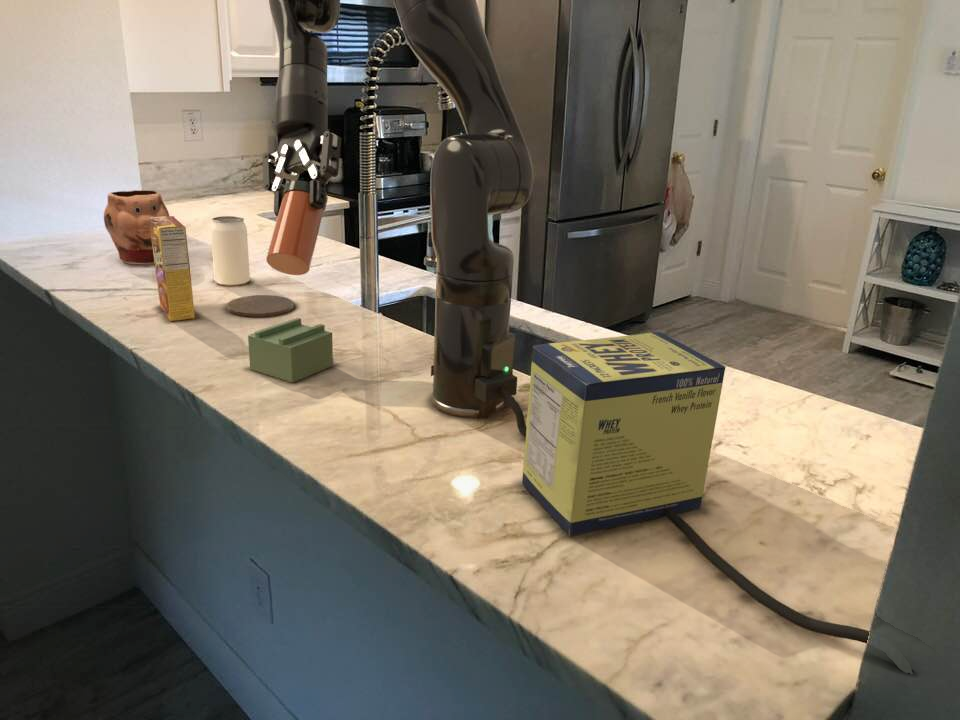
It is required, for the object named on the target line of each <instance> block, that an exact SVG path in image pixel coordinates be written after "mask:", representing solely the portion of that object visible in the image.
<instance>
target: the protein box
mask: <svg viewBox="0 0 960 720" xmlns="http://www.w3.org/2000/svg"><path fill="white" fill-rule="evenodd" d="M531 356H532V357H531V369H530V379H529V393H528V401H527V402H528V403H527V416H526V427H527V429H526V438H525V441H524V443H525V444H524V455H523V467H522V479H521V484H522V486H523V487H524V488H525V489H526V490H527V491H528V492H529V493H530V495H531V496H532V497H533V498H534V499H535V500H536V501H537V502H538V504H539V505H540V506H541V507H542V508H543V509H544V510H545V511H546V512H547V514H548V515H549V516H551V518H552V519H553V520H554V522H556V523H557V524H558V525H559V527H561V529H562V530H563V531H564V532H565V533H566V534H567V536H568V537H572V536H577V535H582V534H587V533H591V532H596V531H603V530H606V529H611V528H616V527H621V526H624V525H629V524H634V523H640V522H644V521H650V520H655V519H660V518H664V517H666V516H665V515H664V510H665V509H666V508H668V507H671V508H672V509H673V510H674V511H675V512H676V513H677V514H678V515H679V514H683V513H688V512H692V511H698V510H700V509H701V508H702V501H703V496H704V492H705V491H704V490H705V484H706V479H707V473H708V467H709V461H710V455H711V451H712V445H713V439H714V433H715V430H716V429H715V428H716V424H717V417H718V412H719V405H720V400H721V394H722V390H723V383H724V377H725V373H726V372H725V371H726V366H725V365H723V364H722V363H719V362H717V361H716V360H715V359H712V358H710V357H708V356H706V355H705V354H702V353H701V352H699V351H697V350H695V349H693V348H691V347H689V346H688V345H685V344H684V343H682V342H680V341H678V340H676V339H674V338H672V337H670V336H668V335H667V334H665V333H663V332H662V331H655V332H654V331H653V332H646V333H639V334H630V335H621V336H612V337H601V338H594V339H593V338H592V339H584V340H582V339H581V340H571V341H562V342H551V343H543V344H537V345H533V346H532V355H531Z"/></svg>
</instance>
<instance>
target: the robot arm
mask: <svg viewBox="0 0 960 720" xmlns="http://www.w3.org/2000/svg"><path fill="white" fill-rule="evenodd" d="M393 4H394V6H395V10H396V14H397V16H398V20H399V24H400V27H401V30H402V34H403V36H404V38H405V40H406V43H407V44H408V46H409V49H411V51H412V52H413V54H414V56H415V57H416V58H417V60H418V61H419V62H420V63H421V65H423V68H424V69H425V70H426V71H427V73H429V75H430V76H431V77H432V78H433V79H434V80H435V81H436V83H437V84H438V85H439V86H440V88H442V90H443V91H444V92H445V93H446V95H447V96H448V97H449V99H450V100H451V103H453V105H454V106H455V108H456V111H457V112H458V115H459V117H460V119H461V122H462V125H463V127H464V130H465V134H454V135H450V136H448V137H446V138H445V139H443V140H442V141H441V142H440V143H439V145H438V146H437V148H436V149H435V152H434V154H433V155H434V156H433V158H432V161H431V168H430V177H429V178H430V180H429V182H430V183H429V185H430V186H429V189H430V190H429V192H430V193H429V194H430V224H431V226H430V231H431V233H430V234H431V236H430V237H431V244H432V248H433V251H434V255H435V259H436V276H435V307H434V309H435V310H434V311H435V312H434V339H433V340H434V344H433V364H432V365H431V366H430V377H433V378H432V392H431V402H432V404H433V406H434V407H435V408H436V409H438V410H439V411H441V412H444V413H446V414H450V415H453V416H459V417H469V418H472V417H474V418H476V417H477V418H483V419H489V418H491V417H492V416H493V415H495V414H497V413H498V412H500V411H502V410H503V409H505V408H506V407H507V406H509V407H510V408H511V410H512V411H513V413H514V415H515V419H516V426H517V429H518V432H519V433H520V434H521V435H522V437H524V438H525V439H526V429H527V424H526V420H525V415H524V411H523V410H522V408H521V406H520V404H519V403H518V402H517V400H516V399H515V398H514V396H516V395H517V391H518V376H516V375H515V374H514V362H515V361H514V360H515V344H516V335H515V333H514V332H510V320H511V307H512V292H513V291H512V290H513V277H514V262H515V261H514V259H515V258H514V254H513V251H512V250H511V248H509V247H507V246H505V245H502V244H500V243H498V242H494V241H492V240H491V238H490V234H489V216H493V215H502V214H509V213H514V212H517V211H519V210H520V209H522V208H523V207H525V205H526V204H527V203H528V202H529V200H530V197H531V196H532V193H533V188H534V180H535V179H534V167H533V160H532V158H531V154H530V151H529V147H528V145H527V142H526V140H525V137H524V135H523V132H522V129H521V128H520V124H519V122H518V120H517V118H516V115H515V113H514V110H513V108H512V106H511V103H510V101H509V98H508V96H507V94H506V91H505V88H504V86H503V83H502V80H501V77H500V74H499V71H498V68H497V65H496V62H495V58H494V56H493V53H492V50H491V47H490V44H489V41H488V38H487V35H486V30H485V28H484V25H483V20H482V17H481V13H480V9H479V5H478V1H477V0H393ZM268 6H269V11H270V15H271V19H272V22H273V25H274V26H273V27H274V29H275V33H276V38H277V43H278V49H279V52H278V53H279V55H278V78H277V82H276V88H275V89H276V90H275V92H276V93H275V121H274V130H275V133H276V135H277V138H278V139H279V143H278V147H277V149H276V151H275V152H273V153H270V152H267V151H265V152H263V154H262V179H263V189H264V190H265V191H268V192H270V193H273V212H274V216H275V217H278V213H279V209H280V206H281V202H282V198H281V197H282V192H283V189H284V186H285V184H286V183H288V182H290V181H295V180H299V177H300V175H301V174H303V173H304V172H305V171H308V173H309V176H310V178H311V179H312V180H310V181H309V182H310V206H311V207H313V208H316V209H318V210H320V209H323V208H324V204H325V202H326V194H327V184H328V183H329V182H330V179H331V178H332V177H333V178H336V177H338V175H339V172H340V170H339V169H340V159H341V147H342V138H341V137H340V136H339V135H337V134H335V133H334V132H331V131H329V130H328V129H329V127H328V126H329V86H328V47H327V45H326V43H325V42H324V40H323V39H322V38H321V37H319V36H318V35H316V34H314V33H313V32H315V33H319V34H326V33H329V32H331V31H333V29H334V28H336V26H337V25H338V23H339V19H340V14H341V13H340V12H341V0H268ZM285 170H287V171H289V172H290V173H287V172H285ZM284 179H285V182H284V184H283V181H284ZM272 181H273V182H272ZM282 184H283V185H282ZM664 515H665V516H664V517H666V518H667V520H669V521H670V522H671V523H672V524H673V525H674V526H675V527H676V528H677V529H678V530H679V531H680V532H681V533H682V534H683V535H684V536H685V537H686V538H687V540H688V541H690V543H691V544H692V545H693V546H694V547H695V548H696V549H697V550H698V551H699V553H700V554H702V556H703V557H704V558H706V560H707V561H709V563H711V564H712V565H713V566H714V567H715V568H716V569H717V570H718V571H719V572H721V573H722V574H723V575H725V577H727V578H728V579H729V580H730V581H731V582H733V583H734V584H735V585H736V586H737V587H739V588H740V589H741V590H742V591H744V592H745V593H746V594H747V595H749V596H750V597H751V598H752V599H754V600H755V601H757V602H758V603H759V604H761V605H762V606H764V607H765V608H767V609H768V610H770V611H771V612H773V613H775V614H776V615H777V616H780V617H781V618H783V619H784V620H786V621H788V622H790V623H792V624H794V625H795V626H797V627H800V628H802V629H804V630H807V631H811V632H813V633H817V634H820V635H824V636H825V635H826V636H829V637H834V638H839V639H840V638H841V639H846V640H851V641H855V642H858V643H859V642H860V643H863V644H866V643H867V640H868V636H869V632H871V631H870V630H868V629H864V628H860V627H856V626H851V625H845V624H839V623H834V622H829V621H824V620H820V619H817V618H814V617H811V616H807V615H805V614H803V613H800V612H798V611H797V610H795V609H793V608H791V607H790V606H788V605H786V604H785V603H783V602H781V601H779V600H777V599H776V598H774V597H773V596H771V595H770V594H769V593H766V592H765V591H764V590H763V589H761V588H760V587H758V586H757V585H756V584H754V583H753V582H752V581H751V580H750V579H748V578H747V577H746V576H744V575H743V574H742V573H741V572H739V571H738V570H737V569H736V568H735V567H733V566H732V565H731V564H730V563H728V561H726V560H725V559H724V558H722V556H720V555H719V554H718V553H717V552H716V551H715V550H714V549H712V547H711V546H710V545H709V544H708V543H707V542H706V541H705V540H704V539H703V538H702V537H701V536H700V535H699V534H698V533H697V532H696V531H695V530H694V529H693V528H692V526H690V524H689V523H687V522H686V521H685V520H684V518H682V517H681V516H680V515H679V514H677V513H676V512H675V511H674V510H673V509H672V508H671V507H668V508H666V509H665V510H664Z"/></svg>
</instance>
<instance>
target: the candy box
mask: <svg viewBox="0 0 960 720" xmlns="http://www.w3.org/2000/svg"><path fill="white" fill-rule="evenodd" d="M149 224H150V232H151V239H152V247H153V255H154V262H155V263H154V269H155V270H154V271H155V276H156V286H157V293H158V300H159V301H158V302H159V306H160V308H161V309H162V311H163V312H164V313H165V315H166V317H167V319H168V320H169V322H176V321H177V322H178V321H185V320H186V321H187V320H194V319H195V318H196V316H195V315H196V314H195V313H196V312H195V305H194V295H193V286H192V274H191V267H190V257H189V247H188V238H187V237H188V236H187V228H186V226H185V225H183V224H182V223H181V221H179V220H178V219H177V218H176V217H175V216H174V215H169V216H164V217H151V218H149Z"/></svg>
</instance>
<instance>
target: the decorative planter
mask: <svg viewBox="0 0 960 720" xmlns="http://www.w3.org/2000/svg"><path fill="white" fill-rule="evenodd" d="M164 216H170V213H169V210H168V208H167V207H166V204H165V203H164V200H163V199H162V196H161V193H160V192H157V191H155V190H149V189H141V190H140V189H138V190H137V189H135V190H119V191H113V192H109V193H108V194H107V204H106V206H105V208H104V212H103V222H104V226H105V229H106V231H107V232H108V234H109V237H110V238H111V241H112V242H113V244H114V246H115V248H116V250H117V252H118V256H119V259H120V261H122V262H124V263H126V264H131V265H148V264H155V262H154V255H153V247H152V239H151V232H150V224H149V218H151V217H164Z"/></svg>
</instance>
